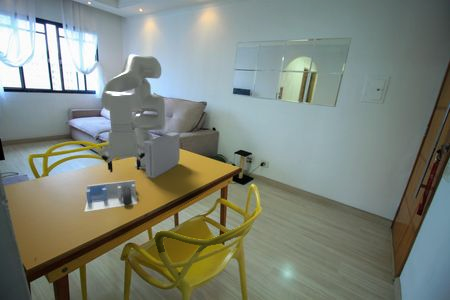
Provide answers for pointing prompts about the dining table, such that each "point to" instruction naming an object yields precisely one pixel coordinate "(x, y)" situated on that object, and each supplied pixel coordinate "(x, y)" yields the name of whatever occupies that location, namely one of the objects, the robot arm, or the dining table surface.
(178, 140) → the game console
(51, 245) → the dining table surface
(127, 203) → the cylinder
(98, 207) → the white holder rack
